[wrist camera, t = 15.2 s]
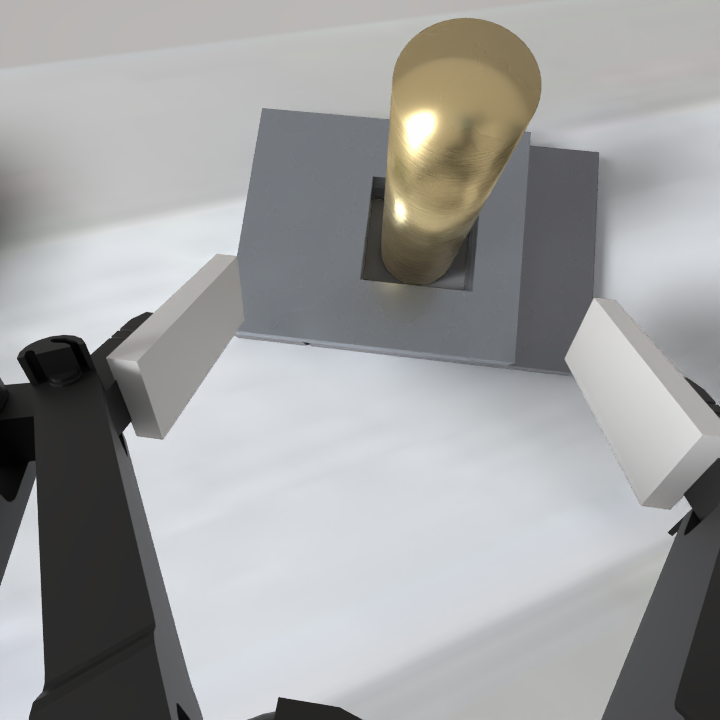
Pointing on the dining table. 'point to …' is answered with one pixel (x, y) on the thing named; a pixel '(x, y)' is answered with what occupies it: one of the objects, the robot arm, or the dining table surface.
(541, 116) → the dining table surface
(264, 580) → the dining table surface
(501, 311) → the grey slotted plate
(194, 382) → the robot arm
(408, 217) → the brass pin
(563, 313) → the grey square-hole plate
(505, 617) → the dining table surface
